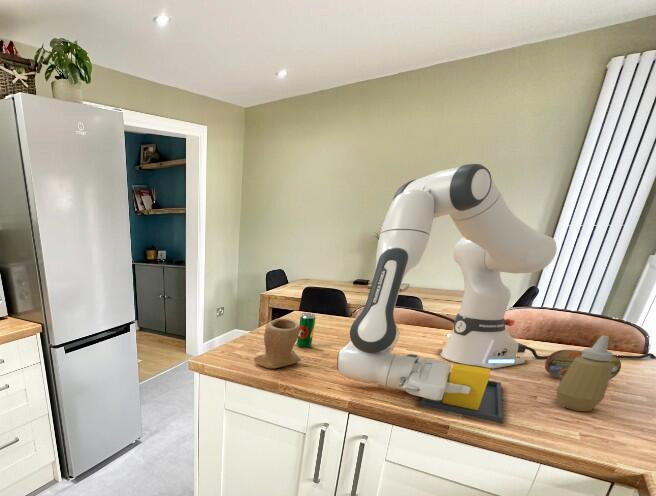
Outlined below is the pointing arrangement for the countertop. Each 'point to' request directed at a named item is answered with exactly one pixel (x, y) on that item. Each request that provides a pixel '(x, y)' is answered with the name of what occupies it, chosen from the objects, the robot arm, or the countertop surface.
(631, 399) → the countertop surface
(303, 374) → the countertop surface
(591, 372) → the squeeze bottle
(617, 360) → the tin
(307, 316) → the soda can
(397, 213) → the robot arm
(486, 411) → the tray
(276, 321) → the stone cup
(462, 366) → the sponge
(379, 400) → the countertop surface
